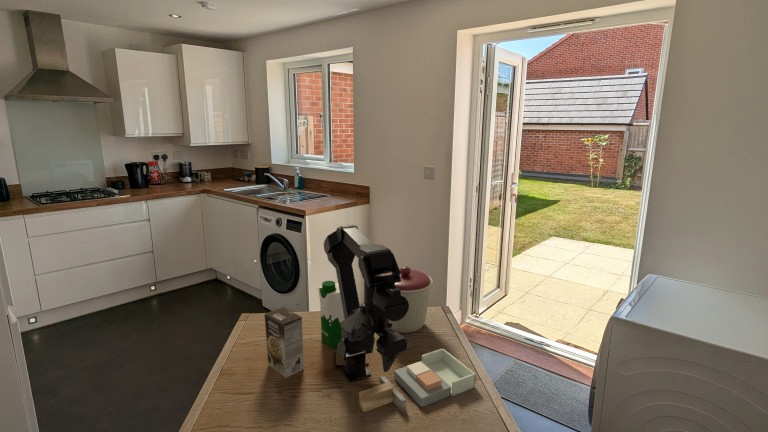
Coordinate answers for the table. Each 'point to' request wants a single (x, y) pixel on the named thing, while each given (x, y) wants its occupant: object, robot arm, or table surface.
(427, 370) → the tile cream
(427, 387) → the tile terracotta
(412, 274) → the canister
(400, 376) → the grey stepped riser
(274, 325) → the coffee box
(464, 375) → the tray
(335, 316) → the milk carton
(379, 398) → the scraper
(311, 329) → the table surface
